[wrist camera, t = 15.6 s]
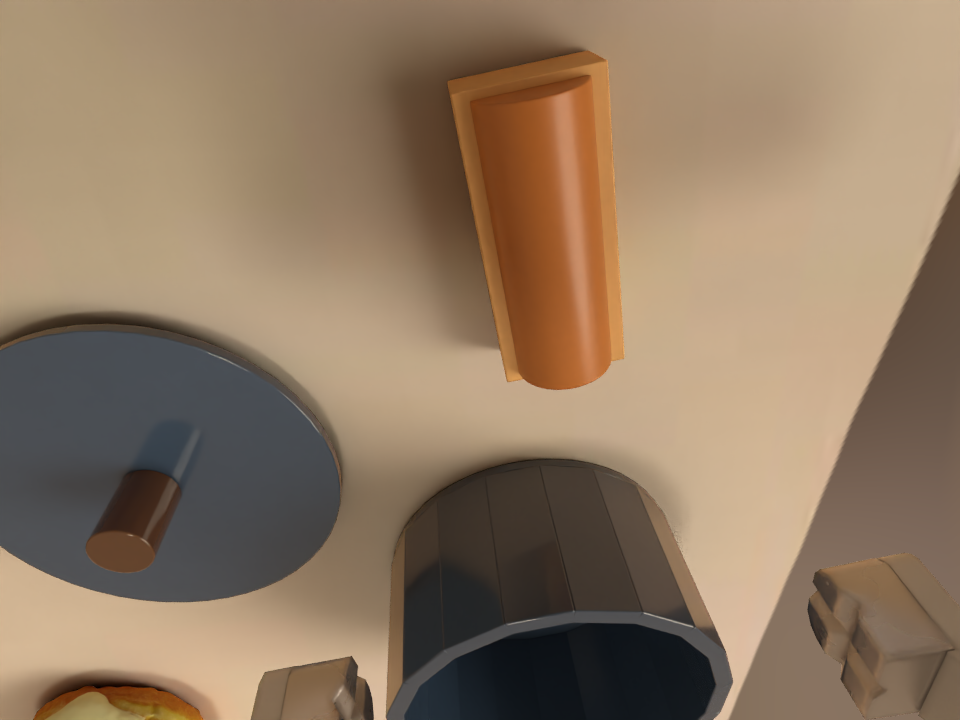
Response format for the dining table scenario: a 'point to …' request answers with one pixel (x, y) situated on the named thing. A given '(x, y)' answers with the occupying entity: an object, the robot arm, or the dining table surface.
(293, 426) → the crock lid
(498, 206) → the orange rounded bar
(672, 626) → the crock
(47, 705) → the decorated donut
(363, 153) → the dining table surface
